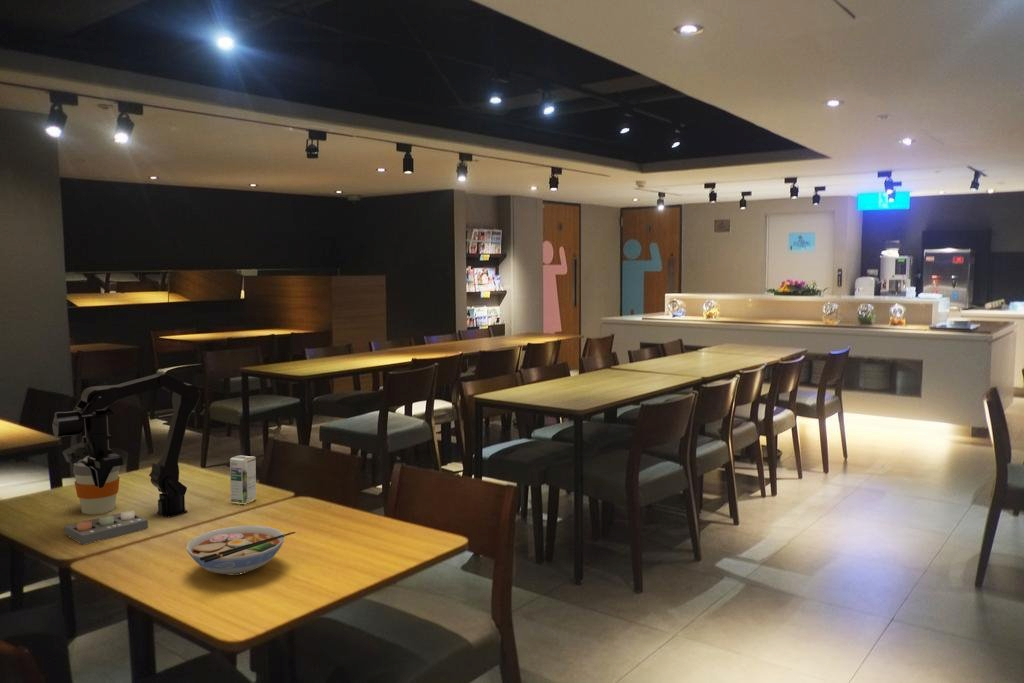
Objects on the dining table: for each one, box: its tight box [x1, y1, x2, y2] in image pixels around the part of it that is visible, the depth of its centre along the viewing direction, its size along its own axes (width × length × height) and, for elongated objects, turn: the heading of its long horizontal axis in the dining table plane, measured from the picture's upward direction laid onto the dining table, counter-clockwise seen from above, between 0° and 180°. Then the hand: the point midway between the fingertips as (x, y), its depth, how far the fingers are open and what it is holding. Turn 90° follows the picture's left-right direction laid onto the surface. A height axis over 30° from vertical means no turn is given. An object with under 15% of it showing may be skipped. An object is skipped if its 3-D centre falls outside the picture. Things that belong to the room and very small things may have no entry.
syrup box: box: [229, 454, 257, 503], centre depth 243 cm, size 6×6×14 cm
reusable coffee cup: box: [72, 458, 121, 515], centre depth 234 cm, size 13×13×15 cm
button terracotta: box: [76, 520, 92, 532], centre depth 211 cm, size 4×4×3 cm
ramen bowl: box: [185, 524, 296, 575], centre depth 189 cm, size 25×23×8 cm
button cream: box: [120, 510, 136, 521], centre depth 220 cm, size 4×4×3 cm
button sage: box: [98, 515, 114, 527], centre depth 215 cm, size 4×4×3 cm
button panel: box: [64, 512, 149, 545], centre depth 215 cm, size 17×12×3 cm
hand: (99, 486), depth 217 cm, fingers open, 2 cm apart
